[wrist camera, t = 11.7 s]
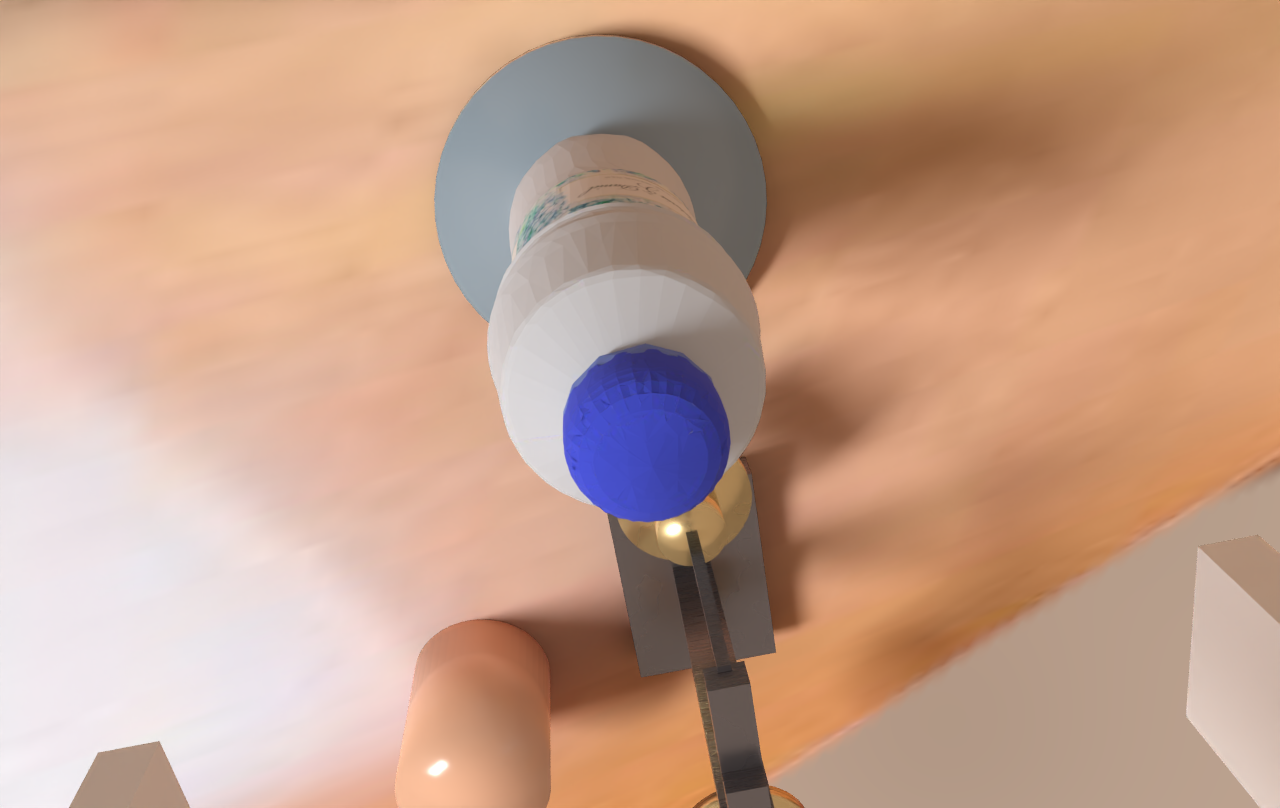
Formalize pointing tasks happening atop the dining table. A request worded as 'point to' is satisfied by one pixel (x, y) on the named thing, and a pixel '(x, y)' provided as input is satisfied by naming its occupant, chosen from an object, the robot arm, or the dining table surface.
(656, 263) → the bottle
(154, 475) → the dining table surface
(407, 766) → the peach rounded capsule
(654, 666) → the balance
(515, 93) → the dish
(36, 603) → the dining table surface
